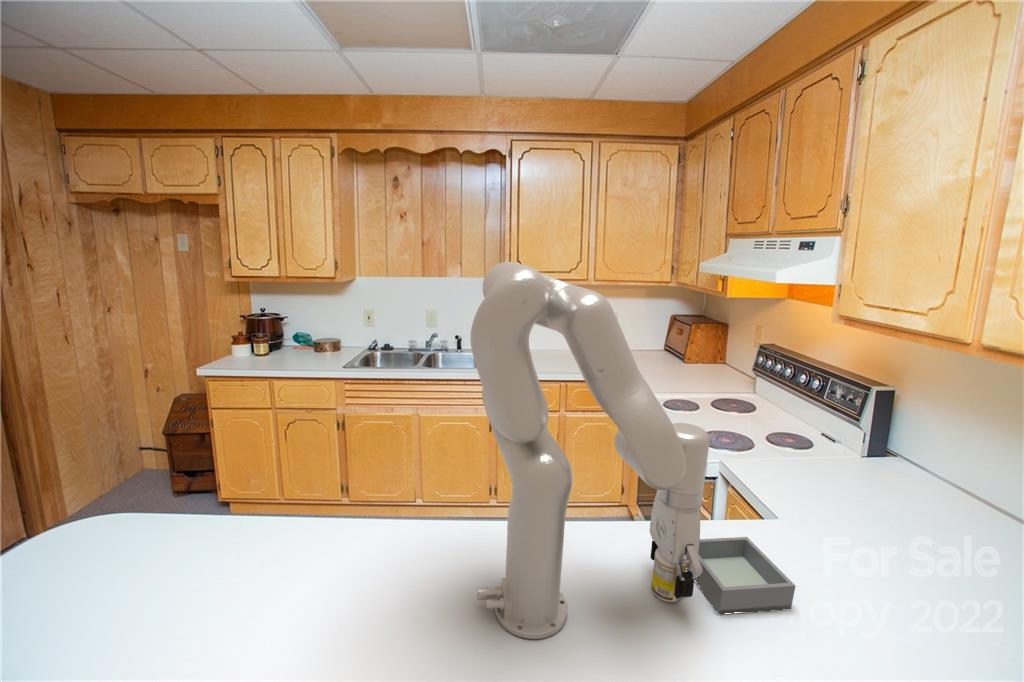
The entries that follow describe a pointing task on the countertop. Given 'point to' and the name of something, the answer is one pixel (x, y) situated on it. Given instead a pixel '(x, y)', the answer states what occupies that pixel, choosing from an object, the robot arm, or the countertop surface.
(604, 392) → the robot arm
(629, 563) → the countertop surface
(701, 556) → the tray
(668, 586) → the supplement bottle
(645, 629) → the countertop surface
